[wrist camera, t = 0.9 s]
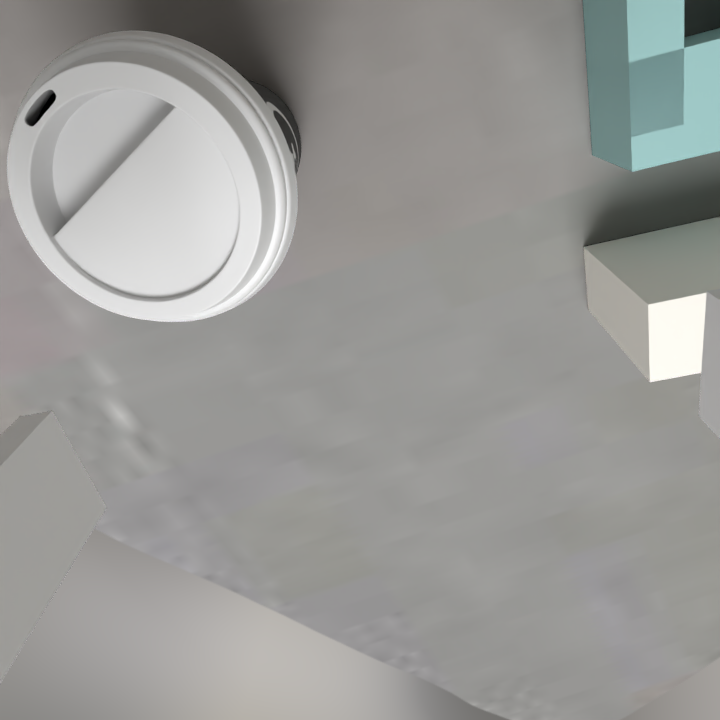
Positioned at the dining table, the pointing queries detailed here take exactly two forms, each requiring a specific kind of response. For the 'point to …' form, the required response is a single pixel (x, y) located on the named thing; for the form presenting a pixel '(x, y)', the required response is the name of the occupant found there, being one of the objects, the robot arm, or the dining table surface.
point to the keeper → (650, 83)
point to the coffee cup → (154, 176)
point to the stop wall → (656, 294)
